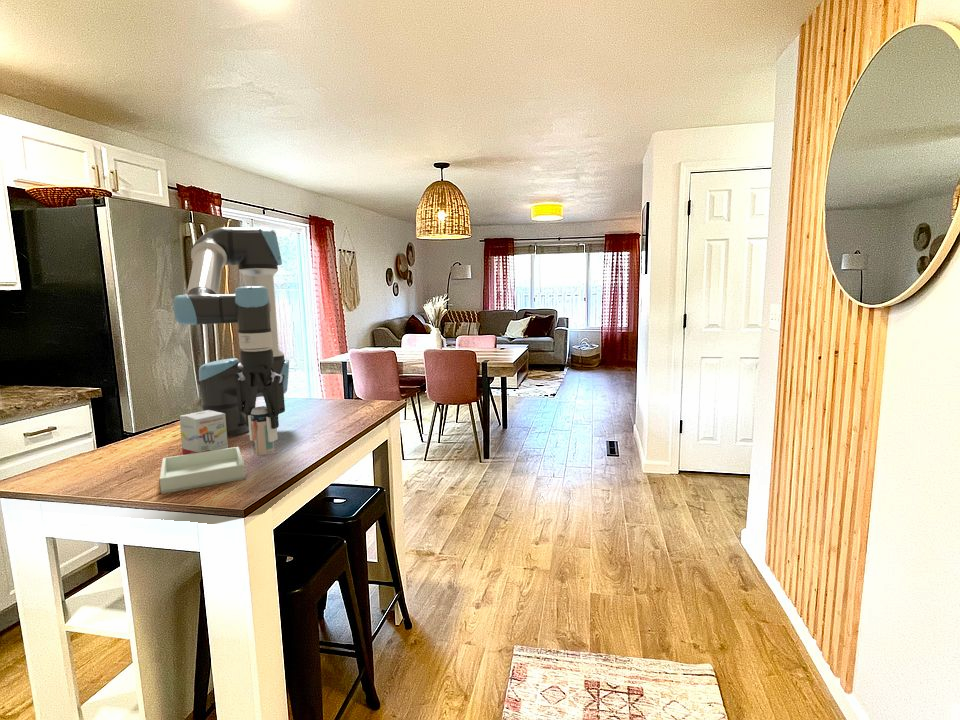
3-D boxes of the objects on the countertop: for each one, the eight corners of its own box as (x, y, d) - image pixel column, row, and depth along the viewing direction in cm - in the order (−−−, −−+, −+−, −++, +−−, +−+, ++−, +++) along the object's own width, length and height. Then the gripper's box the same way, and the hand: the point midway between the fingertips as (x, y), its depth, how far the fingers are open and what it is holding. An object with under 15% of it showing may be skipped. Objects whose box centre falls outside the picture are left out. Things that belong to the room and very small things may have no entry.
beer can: (257, 451, 136) (253, 406, 134) (276, 450, 136) (273, 405, 135) (251, 457, 131) (248, 410, 129) (271, 456, 132) (268, 410, 130)
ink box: (199, 462, 139) (195, 418, 137) (182, 457, 144) (177, 415, 142) (229, 453, 146) (226, 411, 145) (212, 448, 151) (208, 408, 149)
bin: (164, 471, 132) (162, 457, 132) (239, 459, 141) (238, 446, 140) (161, 493, 117) (159, 478, 117) (245, 478, 125) (244, 464, 125)
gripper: (215, 350, 129) (224, 441, 132) (277, 352, 124) (284, 447, 127) (237, 346, 136) (244, 433, 139) (296, 348, 131) (302, 437, 135)
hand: (263, 439), depth 133 cm, fingers closed on beer can, 5 cm apart
